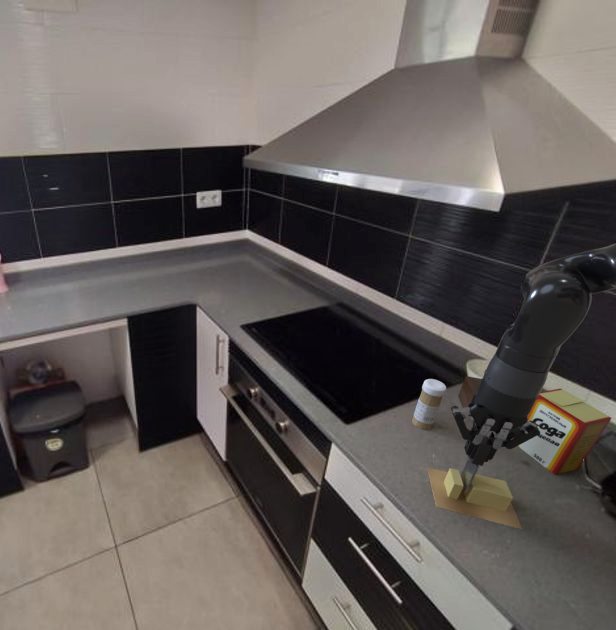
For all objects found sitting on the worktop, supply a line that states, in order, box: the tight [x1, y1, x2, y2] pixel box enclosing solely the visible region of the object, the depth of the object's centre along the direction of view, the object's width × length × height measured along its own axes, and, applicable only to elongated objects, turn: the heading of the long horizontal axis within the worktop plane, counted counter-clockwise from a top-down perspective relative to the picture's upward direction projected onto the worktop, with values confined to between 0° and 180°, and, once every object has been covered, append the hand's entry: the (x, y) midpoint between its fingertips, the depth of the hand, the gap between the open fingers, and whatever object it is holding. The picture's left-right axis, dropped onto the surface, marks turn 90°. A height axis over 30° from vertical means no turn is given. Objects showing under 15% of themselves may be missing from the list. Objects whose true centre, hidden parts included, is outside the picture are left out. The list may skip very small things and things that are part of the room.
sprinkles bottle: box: [411, 378, 447, 431], centre depth 91 cm, size 5×5×13 cm
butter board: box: [426, 466, 523, 530], centre depth 76 cm, size 14×10×1 cm
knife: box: [460, 435, 492, 493], centre depth 72 cm, size 2×4×12 cm, turn 161°
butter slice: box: [444, 467, 463, 500], centre depth 76 cm, size 2×4×4 cm, turn 161°
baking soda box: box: [513, 387, 612, 476], centre depth 81 cm, size 10×6×16 cm
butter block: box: [463, 473, 514, 512], centre depth 74 cm, size 6×4×4 cm, turn 71°
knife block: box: [457, 375, 483, 417], centre depth 97 cm, size 8×8×8 cm
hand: (476, 456), depth 71 cm, fingers closed on knife
